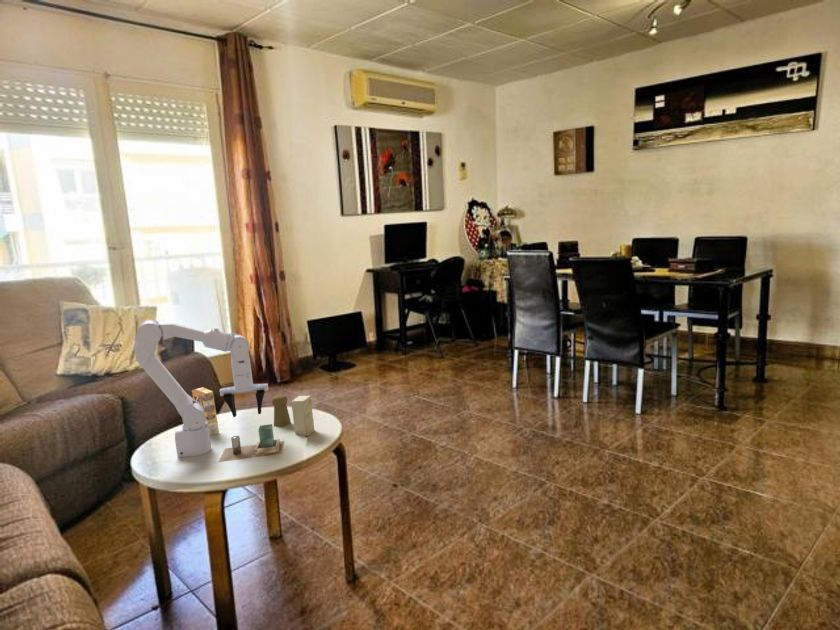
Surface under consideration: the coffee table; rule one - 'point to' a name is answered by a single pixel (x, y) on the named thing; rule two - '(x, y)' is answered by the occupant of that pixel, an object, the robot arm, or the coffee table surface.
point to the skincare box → (303, 415)
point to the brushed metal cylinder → (236, 445)
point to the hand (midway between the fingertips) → (247, 414)
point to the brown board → (253, 451)
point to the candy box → (207, 407)
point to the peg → (266, 436)
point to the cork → (280, 411)
